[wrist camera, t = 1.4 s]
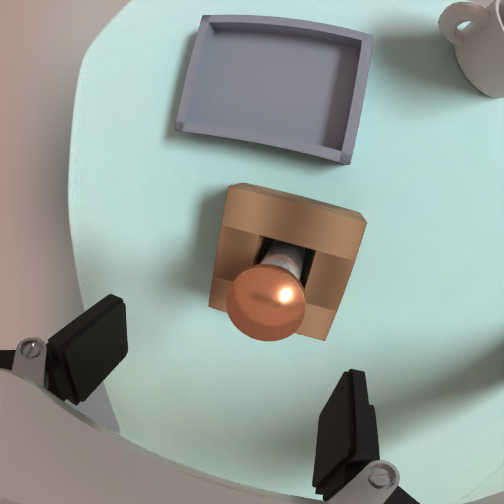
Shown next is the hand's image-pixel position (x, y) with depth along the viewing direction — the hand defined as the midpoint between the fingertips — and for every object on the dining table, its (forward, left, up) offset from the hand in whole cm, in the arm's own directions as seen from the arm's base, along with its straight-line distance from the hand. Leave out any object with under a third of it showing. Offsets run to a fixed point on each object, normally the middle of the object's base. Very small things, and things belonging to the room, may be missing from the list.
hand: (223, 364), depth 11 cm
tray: (+3, -14, -15) cm, 21 cm away
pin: (-1, 0, -15) cm, 15 cm away
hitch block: (-1, 0, -15) cm, 15 cm away
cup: (-14, -23, -15) cm, 31 cm away
